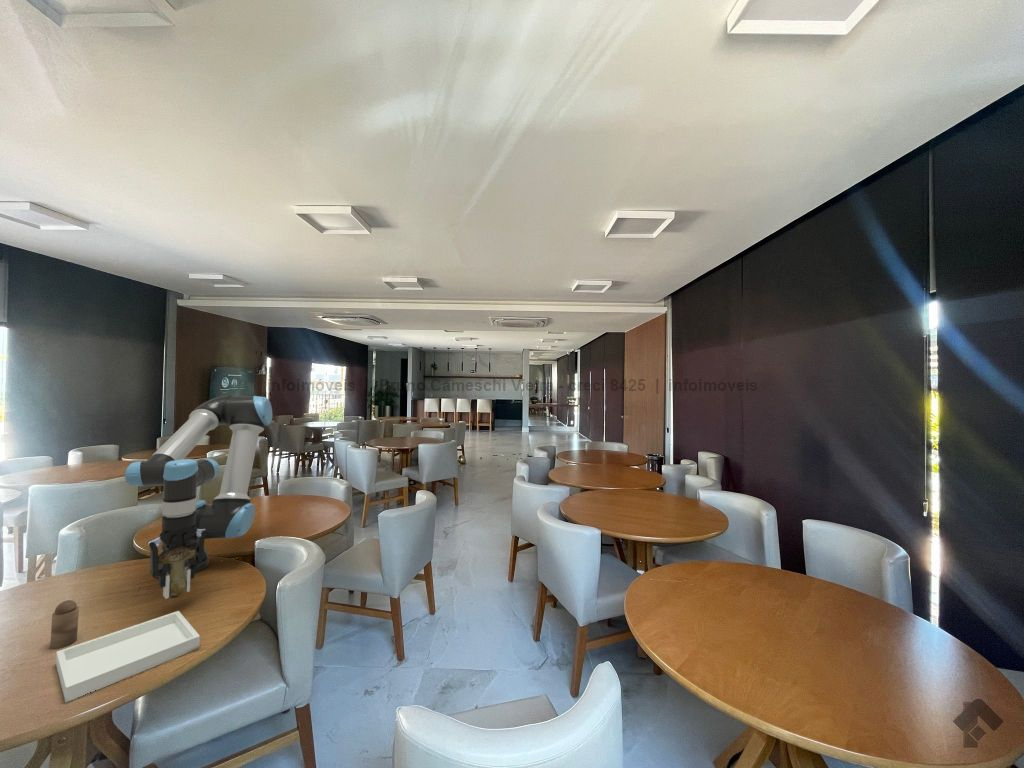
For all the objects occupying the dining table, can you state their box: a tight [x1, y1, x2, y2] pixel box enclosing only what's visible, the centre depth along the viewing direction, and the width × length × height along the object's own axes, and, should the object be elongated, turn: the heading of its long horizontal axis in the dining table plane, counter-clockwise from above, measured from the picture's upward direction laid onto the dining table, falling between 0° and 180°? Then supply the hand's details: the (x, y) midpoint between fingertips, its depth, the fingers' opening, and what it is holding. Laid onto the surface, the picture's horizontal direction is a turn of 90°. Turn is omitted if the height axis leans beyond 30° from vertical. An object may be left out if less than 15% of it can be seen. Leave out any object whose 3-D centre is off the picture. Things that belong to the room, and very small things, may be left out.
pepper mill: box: [49, 599, 80, 650], centre depth 97 cm, size 4×4×10 cm
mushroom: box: [158, 545, 197, 599], centre depth 114 cm, size 9×9×15 cm
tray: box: [55, 610, 201, 704], centre depth 93 cm, size 22×18×3 cm
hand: (176, 593), depth 114 cm, fingers closed on mushroom, 4 cm apart
